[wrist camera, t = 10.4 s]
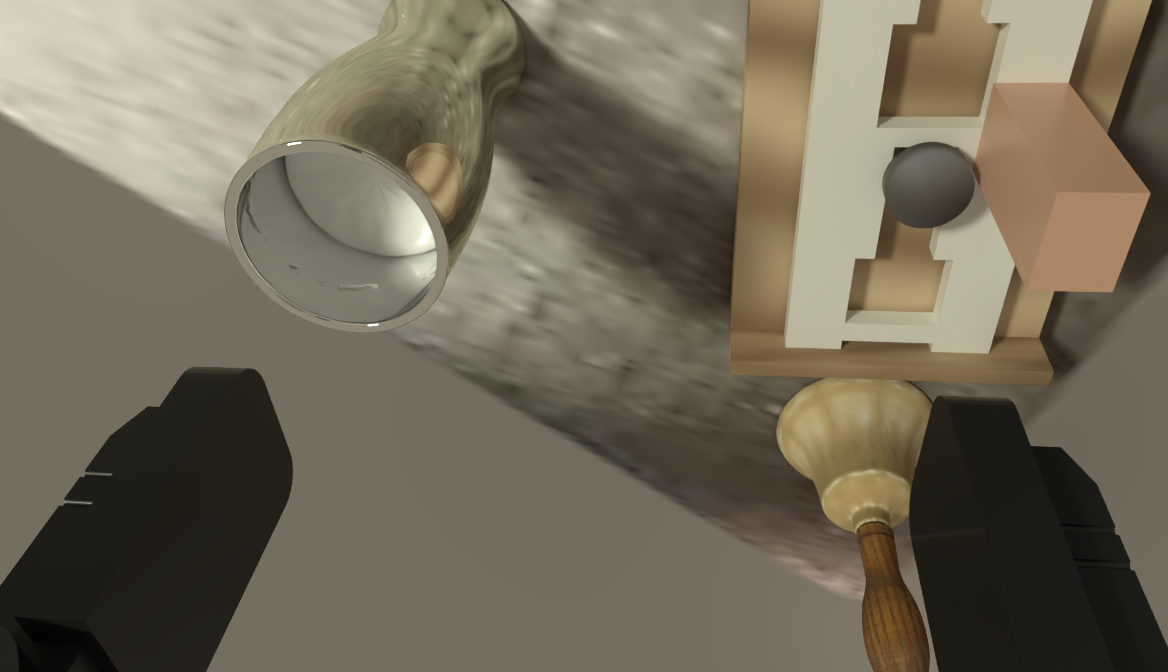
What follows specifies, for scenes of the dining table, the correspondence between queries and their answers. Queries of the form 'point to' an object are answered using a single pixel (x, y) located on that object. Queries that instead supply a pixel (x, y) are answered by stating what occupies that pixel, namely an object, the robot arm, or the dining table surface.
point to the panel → (997, 161)
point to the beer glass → (378, 167)
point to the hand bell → (866, 493)
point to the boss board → (901, 250)
